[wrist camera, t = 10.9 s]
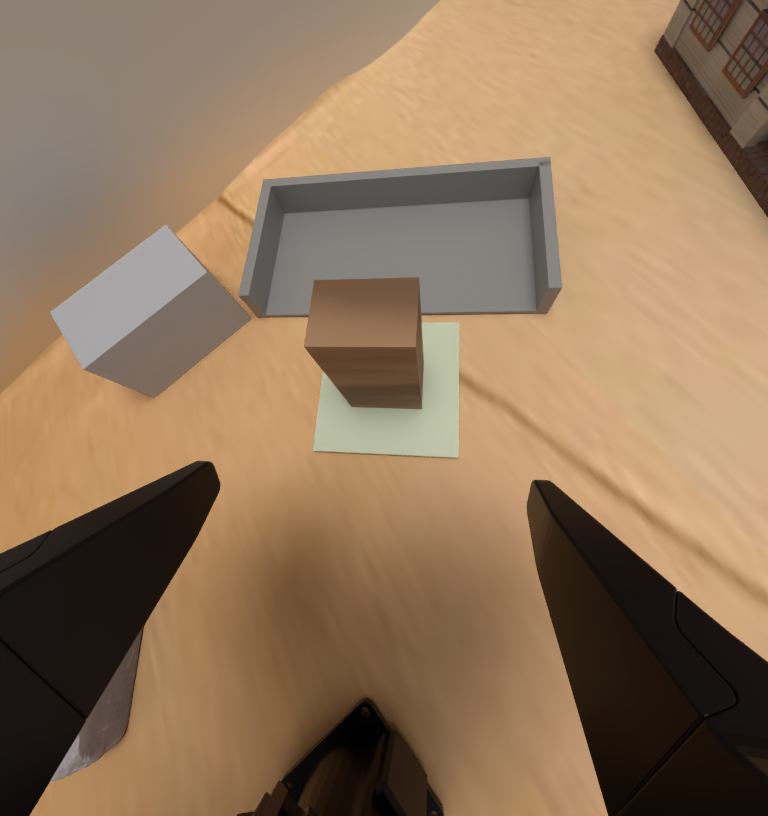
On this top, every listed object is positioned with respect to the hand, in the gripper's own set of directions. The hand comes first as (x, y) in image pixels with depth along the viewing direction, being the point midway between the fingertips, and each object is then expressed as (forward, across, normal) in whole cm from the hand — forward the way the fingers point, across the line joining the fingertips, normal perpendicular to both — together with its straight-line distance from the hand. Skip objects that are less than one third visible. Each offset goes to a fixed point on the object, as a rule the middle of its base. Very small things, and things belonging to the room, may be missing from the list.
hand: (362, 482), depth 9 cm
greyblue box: (+18, +19, +1) cm, 26 cm away
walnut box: (+15, +1, +4) cm, 15 cm away
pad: (+15, +1, +4) cm, 16 cm away
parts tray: (+23, +2, -4) cm, 23 cm away
